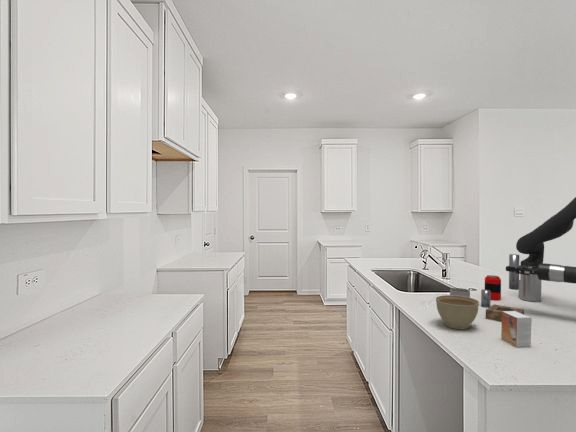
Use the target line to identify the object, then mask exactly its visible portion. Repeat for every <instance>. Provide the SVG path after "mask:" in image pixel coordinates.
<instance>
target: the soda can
mask: <svg viewBox="0 0 576 432" xmlns="http://www.w3.org/2000/svg"><path fill="white" fill-rule="evenodd" d="M484 289H486V290H490V291H491V301H500V300H501V299H502V279H501V277H500V276H498V275H494V274H493V275H492V274H490V275H486V276H485V277H484Z"/></svg>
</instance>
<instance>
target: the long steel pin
mask: <svg viewBox="0 0 576 432" xmlns="http://www.w3.org/2000/svg"><path fill="white" fill-rule="evenodd" d="M508 256H509V259H508V263H509V264H508V266H510V267H519V265H520V254H517V253H511V254H509V255H508ZM519 280H520V274H516V273H515V272H510V271H508V289H509V290H516V291H519Z"/></svg>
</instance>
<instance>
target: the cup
mask: <svg viewBox="0 0 576 432" xmlns="http://www.w3.org/2000/svg"><path fill="white" fill-rule="evenodd" d="M449 295H457V296H465V297H470V298H471V290H470V289H466V288H460V287H452V288H450V289H449Z"/></svg>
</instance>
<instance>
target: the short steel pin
mask: <svg viewBox="0 0 576 432" xmlns="http://www.w3.org/2000/svg"><path fill="white" fill-rule="evenodd" d="M480 296H481V297H480V300H481V301H480V302H481V303H480V307H482V308H486V309H487V308H489V307H490V306H492V304H491V302H492V300H491V291H490V290H486V289H485V288H483V289H481V294H480Z"/></svg>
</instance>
